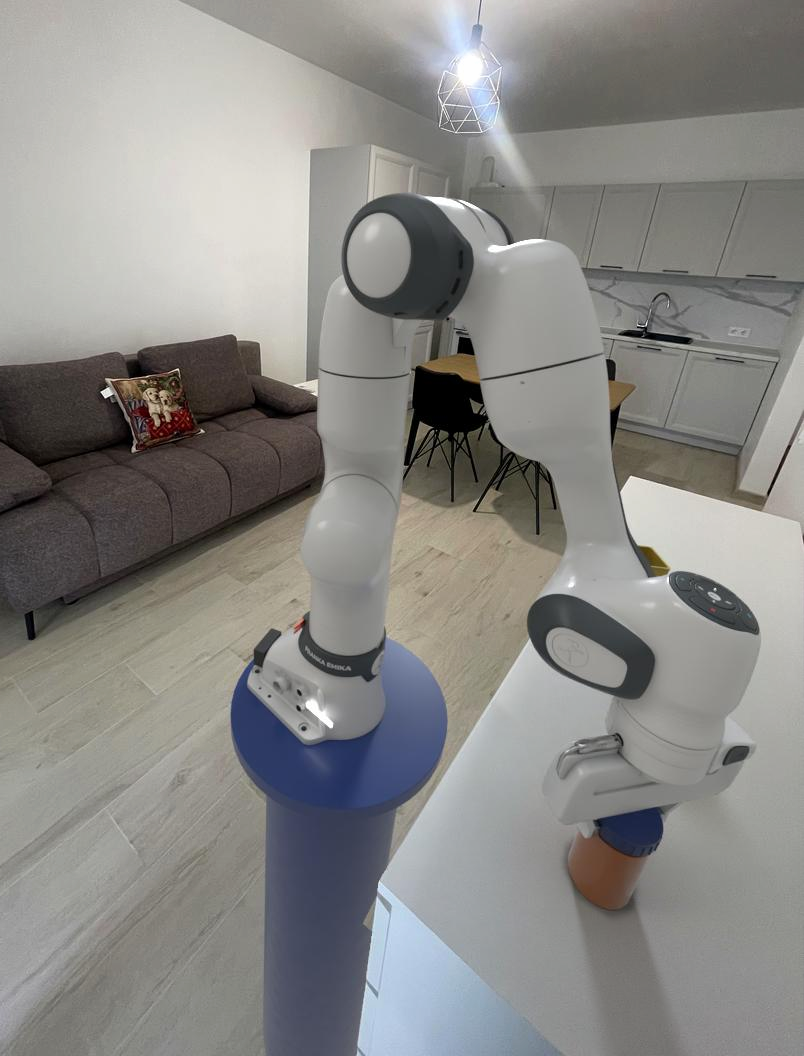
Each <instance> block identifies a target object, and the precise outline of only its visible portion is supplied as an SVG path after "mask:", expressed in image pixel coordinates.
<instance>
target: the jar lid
mask: <svg viewBox="0 0 804 1056" xmlns="http://www.w3.org/2000/svg"><path fill="white" fill-rule="evenodd" d="M597 822H598V823H600V825H601V826H602V829H601V831H600V832H599V835H600V836H601V837H602V838H603V839H604V840H605V841H606V842H608V843H609V844H610V845H611V846H613V847H614V848H616V849H618V850H619V851H621V852H624V853H626V854H629V855H632V856H641V857H642V856H647V855H650V854H653V853H654V852H656V851H657V849H658V847H659V846H660V844H661V842H662V839H663V834H664V822H663V821H662V818H661V815H660V813H659V811H658V809H657V808H656V807H654V808H649V809H644V810H639V811H634V812H629V813H624V814H619V815H614V816H609V817H604V818H600V819H597ZM650 856H651V855H650Z"/></svg>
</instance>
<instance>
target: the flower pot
mask: <svg viewBox="0 0 804 1056" xmlns="http://www.w3.org/2000/svg"><path fill="white" fill-rule="evenodd" d="M637 545H638V547H639V548H640V549H641V551H642V552H643V554H644V555H645V557H646V558H647V560H648V561H649V563H650V565H651V567H652V569H653V571H654V574H655V577H659V576H663V575H666V574H669V573H670V571H671V567H670V565H669V564H668V563H667V562H666V561H665V560H664V559H663V558H662V557H661V555H660V554H659V553H658V552H657V551H656V550H655V548H653V547H652V546H648V545H642V544H637Z"/></svg>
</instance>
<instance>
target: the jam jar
mask: <svg viewBox="0 0 804 1056" xmlns="http://www.w3.org/2000/svg"><path fill="white" fill-rule="evenodd" d="M570 846H571V847H570V849H569V852H568V855H567V868H568V871H569V874H570V875H569V876H570V877H571V880H572V881H573V883H574V885H575V886H576V887H577V890H579V892H580V893H581V894H582V895H583V896H584V898H586V899H587V900H588V901H590V902H592V903H593V904H594V905H596V906H597V907H600V908H602V909H605V910H608V911H617V910H621V909H623V908H625V907H626V906H627V905H628V903H629V902H630V900H631V897H632V895H633V893H634V891H635V889H636V886H637V884H638V882H639V880H640V878H641V876H642V874H643V872H644V869H645V868H646V865H647V864H648V861H649V859H650V856H651V854H652V853H651V854H650V855H647V856H642V857H641V856H632V855H629V854H626V853H624V852H621V851H619V850H618V849H616V848H614V847H613V846H611V845H610V844H609V843H608V842H606V841H605V840H604V839H603V838H602V837H601V836H600V835H599V836H595V837H590V838H587V839H586V838H585V837H584V836H583V835H582V833H581V831H580V829H579V828H578V827H577V830H576V833H575V835H574V838H573V841H572V843H571V845H570Z"/></svg>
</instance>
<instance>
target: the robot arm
mask: <svg viewBox="0 0 804 1056" xmlns="http://www.w3.org/2000/svg"><path fill="white" fill-rule="evenodd" d="M340 255H341V256H340V261H341V262H340V263H341V270H342V274H341V275H340V276H339V277H337V278H336V279H335V280H334V281H333V282H332V284H331V285H330V287H329V289H328V291H327V296H326V301H325V305H324V310H323V316H322V322H321V328H320V336H319V348H318V363H317V364H318V366H317V400H316V401H317V403H316V405H317V407H316V408H317V409H316V430H317V433H318V436H319V437H320V440H321V445H322V451H323V459H324V478H323V483H322V485H321V487H320V488H321V489H320V491H319V494H318V496H317V497H316V499H315V501H314V503H313V505H312V507H311V508H310V510H309V511H308V514H307V515H306V518H305V521H304V525H303V530H302V535H301V541H300V542H301V543H300V557H301V558H300V559H301V561H302V564H303V566H304V568H305V570H306V571H307V573H308V574H309V580H310V597H309V598H310V599H309V610H308V611H307V612H306V613H304V615H303V616H302V619H301V620H300V621H298V622H297V623H296V624H295V625H294V626H292V627H291V628H289V629H287V630H286V631H284V632H283V633H282V630H278V629H276V628H273V627H271V628H270V629H269V630H268V631H267V632H266V633H265V635H264V637H262V639H261V640H260V641H259V642H258V643H257V644H256V646H255V647H254V648H253V659H254V665H255V666H254V667H253V669H252V670H251V672H250V674H249V677H248V682H247V687H248V689H249V690H250V691H251V692H252V693H253V694H254V695H255V696H256V697H257V698H258V699H259V700H260V701H261V702H262V703H263V704H264V705H265V706H266V707H267V708H268V709H269V710H270V711H271V712H272V713H273V714H274V715H275V716H276V717H277V718H278V719H279V720H280V721H281V722H282V723H283V724H284V725H285V726H286V727H287V728H288V729H289V730H290V731H291V732H292V733H293V734H294V735H295V736H296V737H297V738H298V739H299V740H300V741H301V742H302V743H303V744H305V745H314V744H317V743H320V742H323V741H326V740H349V739H354V738H358V737H360V736H363V735H365V734H367V733H368V732H370V731H371V730H373V729H374V728H375V727H376V726H377V725H378V723H379V722H380V721H381V719H382V717H383V715H384V712H385V706H386V702H385V695H384V692H383V687H382V679H381V668H382V665H383V661H384V656H385V642H386V637H387V630H386V626H385V625H386V624H385V623H386V616H387V607H388V601H389V599H388V598H389V592H390V571H391V562H392V553H393V552H392V551H393V546H394V538H395V533H396V528H397V523H398V518H399V514H400V513H399V512H400V507H401V503H402V497H403V482H404V481H403V480H404V464H405V448H406V447H405V446H406V445H405V444H406V429H407V416H408V407H409V395H410V384H411V383H410V382H411V372H412V361H413V360H412V359H413V347H414V340H415V336H416V334H417V331H418V330H419V327H420V326H421V325H422V323H424V322H426V321H430V322H431V321H432V322H433V321H434V322H440V321H444V320H446V319H447V318H448V317H449V318H450V319H453V320H455V321H456V322H458V323H459V324H461V326H463V328H464V329H465V331H466V333H467V334H468V336H469V338H470V341H471V344H472V348H473V352H474V357H475V362H476V368H477V373H478V379H479V384H480V390H481V395H482V400H483V405H484V409H485V412H486V415H487V418H488V421H489V423H490V425H491V427H492V430H493V433H494V434H495V437H496V439H497V440H498V441H499V443H501V444H502V445H503V446H504V447H505V448H507V449H508V450H509V451H511V452H512V453H514V454H515V455H518V456H520V457H522V458H524V459H528V460H531V461H534V462H538V463H540V465H542V466H543V467H545V469H547V471H548V472H549V474H550V476H551V478H552V481H553V484H554V488H555V492H556V496H557V500H558V504H559V508H560V513H561V516H562V521H563V524H564V528H565V533H566V545H565V548H564V552H563V555H562V558H561V561H560V563H559V565H558V567H557V569H556V570H555V572H554V573H553V574H552V576H551V577H550V579H549V580H548V582H546V584H545V585H544V586H543V588H542V590H541V591H540V593H539V594H538V595H537V597H536V598H535V600H534V602H533V603H532V604H531V606H530V608H529V610H528V612H527V617H526V630H527V634H528V637H529V640H530V642H531V644H532V646H533V648H534V650H535V651H536V653H537V654H538V655H539V657H540V658H541V659H542V660H543V662H544V663H546V664H547V666H549V667H550V669H552V670H554V672H557V673H559V674H560V675H562V676H563V677H566V678H568V679H570V680H572V681H574V682H576V683H579V684H581V685H583V686H586V687H587V688H588V687H589V688H591V689H593V690H596V691H599V692H602V693H604V694H606V695H609V696H612V699H611V702H610V704H609V707H608V710H607V713H606V716H605V724H604V725H605V730H606V734H603V735H598V736H592V737H585V738H579V739H573V740H571V741H568V742H566V743H564V744H563V745H562V746H561V747H560V748H559V749H558V750H557V752H556V753H555V755H554V757H553V759H552V760H551V762H550V764H549V766H548V768H547V769H546V772H545V775H544V777H543V780H542V782H541V786H540V790H541V793H542V796H543V798H544V800H545V802H546V804H547V806H548V808H549V810H550V811H551V813H552V815H553V816H554V817H555V818H556V819H557V820H558V822H559V823H560V824H561V825H564V826H569V825H574V824H576V826H577V829H578V828H579V829H580V831H581V833H582V835H583V836H584V837H585V838H586V839H587V838H590V837H595V836H599V832H600V831H601V829H602V826H601V825H600V823H598V822H597V819H600V818H604V817H609V816H614V815H619V814H624V813H629V812H634V811H639V810H644V809H649V808H654V807H656V808H657V809H658V811H659V813H660V815H661V818H662V821H663V823H665V822H666V820H667V818H668V817H669V814H671V813H672V812H673V811H675V810H676V809H677V808H678V807H680V806H681V805H682V804H683V803H684V802H689V801H694V800H697V799H703V798H708V797H713V796H719V795H720V794H722V793H723V792H725V791H726V790H727V789H729V788H730V787H731V786H732V785H733V783H734V782H735V780H736V778H737V777H738V775H739V774H740V771H741V770H742V768H743V766H744V764H745V761H747V760H749V759H751V758H752V756H753V755H754V753H755V751H756V749H757V743H756V742H755V741H754V740H753V739H752V738H751V737H750V736H749V734H748V733H747V732H745V731H744V729H743V728H742V727H740V726H739V724H738V723H736V722H735V720H734V719H732V717H731V716H730V714H732V713H733V712H735V710H736V709H738V707H739V705H740V703H741V701H742V700H743V697H744V695H745V693H746V691H747V689H748V687H749V684H750V682H751V679H752V676H753V674H754V671H755V669H756V666H757V663H758V659H759V655H760V650H761V644H762V633H761V628H760V624H759V622H758V620H757V618H756V616H755V615H754V613H753V611H752V610H751V609H750V607H749V606H748V604H746V602H744V601H743V600H742V599H741V598H740V597H739V596H737V594H736V593H734V592H733V591H732V590H730V589H729V588H728V587H726V586H724V584H721V583H719V582H717V581H715V580H714V579H711V578H709V577H707V576H705V575H702V574H699V573H695V572H691V571H684V570H676V571H672V572H668V574H666V575H663V576H659V577H655V574H654V571H653V569H652V567H651V565H650V563H649V561H648V560H647V558H646V557H645V555H644V554H643V552H642V551H641V549H640V548H639V547H638V545H639V544H637V542H636V540H635V539H634V537H633V535H632V533H631V531H630V528H629V526H628V521H627V517H626V513H625V509H624V504H623V499H622V495H621V490H620V489H621V488H620V485H619V481H618V475H617V471H616V466H615V461H614V456H613V452H612V434H611V432H612V431H611V397H610V384H609V374H608V366H607V359H606V353H605V347H604V342H603V341H604V340H603V336H602V331H601V327H600V322H599V318H598V315H597V314H598V313H597V310H596V307H595V304H594V300H593V296H592V294H591V293H592V292H591V291H590V288H589V284H588V281H587V279H586V276H585V273H584V272H583V268H582V267H581V265H580V261H579V259H578V257H577V255H576V254H575V253H574V252H573V250H572V249H571V248H570V247H568V246H567V245H565V244H564V243H561V242H558V241H556V240H550V239H549V240H548V239H538V238H537V239H528V240H523V241H519V242H516V241H515V239H514V236H513V234H512V232H511V230H510V229H509V227H508V226H507V225H506V223H505V222H504V221H503V220H502V218H500V217H499V216H497V214H495V213H494V212H492V211H490V210H488V209H485V208H482V207H477V206H475V205H473V204H471V203H469V202H466V201H464V200H460V199H456V198H453V197H434V196H424V195H422V194H419V193H415V192H397V193H396V192H395V193H391V194H386V195H382V196H378V197H377V198H374V199H373V200H369V202H367V203H366V204H365V205H363V206H362V207H361V208H359V210H358V211H357V213H355V214H354V216H353V217H352V219H351V221H350V222H349V224H348V226H347V228H346V231H345V234H344V237H343V240H342V245H341V254H340ZM302 730H306V731H302Z"/></svg>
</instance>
